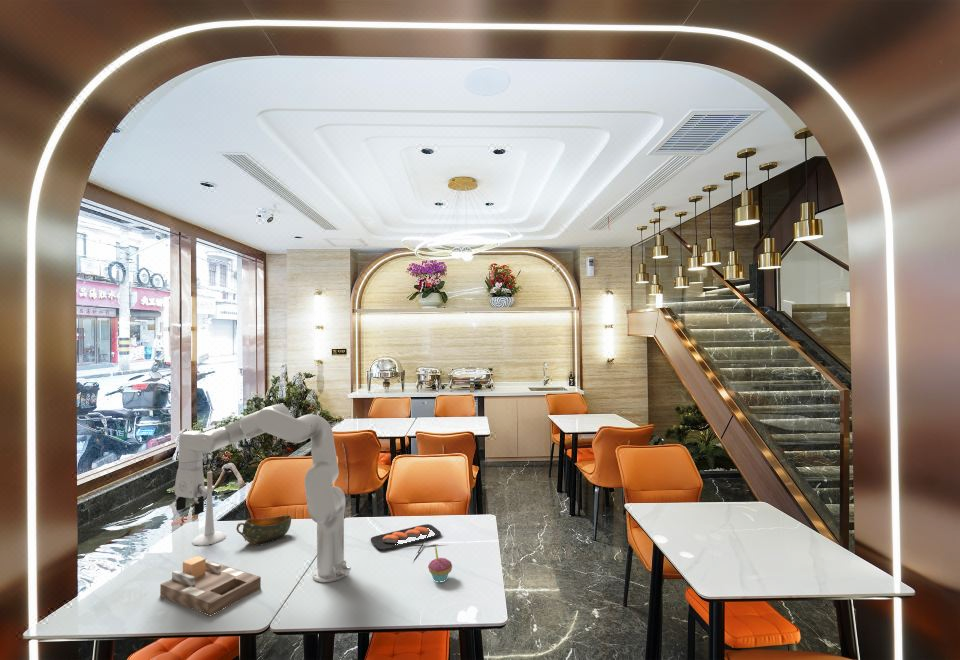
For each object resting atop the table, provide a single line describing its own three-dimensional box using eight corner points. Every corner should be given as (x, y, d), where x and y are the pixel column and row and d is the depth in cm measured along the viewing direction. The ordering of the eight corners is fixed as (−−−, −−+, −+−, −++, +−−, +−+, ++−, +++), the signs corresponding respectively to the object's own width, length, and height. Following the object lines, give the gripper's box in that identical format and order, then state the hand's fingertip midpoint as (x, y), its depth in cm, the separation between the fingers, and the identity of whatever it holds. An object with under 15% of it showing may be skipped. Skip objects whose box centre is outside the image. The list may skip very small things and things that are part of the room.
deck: (260, 588, 160) (260, 569, 160) (210, 616, 144) (210, 595, 144) (211, 572, 172) (211, 554, 172) (160, 596, 156) (160, 576, 156)
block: (205, 572, 163) (205, 558, 163) (191, 579, 159) (191, 564, 159) (196, 569, 165) (196, 555, 166) (182, 576, 161) (182, 561, 161)
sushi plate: (429, 527, 213) (429, 518, 213) (460, 552, 187) (460, 542, 187) (368, 541, 198) (368, 533, 198) (392, 571, 172) (392, 560, 172)
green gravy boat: (245, 535, 204) (245, 513, 204) (292, 532, 208) (292, 510, 208) (234, 548, 191) (235, 524, 192) (285, 545, 195) (285, 521, 195)
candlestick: (206, 532, 208) (207, 466, 209) (232, 534, 206) (232, 467, 207) (184, 545, 195) (185, 474, 196) (212, 546, 194) (212, 475, 194)
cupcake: (424, 583, 162) (424, 549, 162) (434, 571, 170) (434, 539, 170) (446, 587, 159) (446, 552, 159) (456, 575, 167) (455, 542, 167)
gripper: (165, 464, 169) (164, 511, 169) (197, 469, 163) (196, 518, 162) (184, 460, 176) (183, 504, 176) (216, 464, 170) (215, 511, 169)
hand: (189, 511), depth 169 cm, fingers open, 9 cm apart
